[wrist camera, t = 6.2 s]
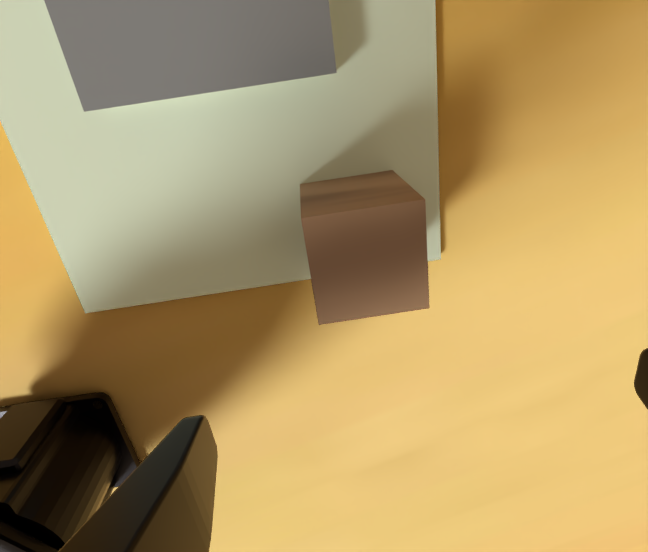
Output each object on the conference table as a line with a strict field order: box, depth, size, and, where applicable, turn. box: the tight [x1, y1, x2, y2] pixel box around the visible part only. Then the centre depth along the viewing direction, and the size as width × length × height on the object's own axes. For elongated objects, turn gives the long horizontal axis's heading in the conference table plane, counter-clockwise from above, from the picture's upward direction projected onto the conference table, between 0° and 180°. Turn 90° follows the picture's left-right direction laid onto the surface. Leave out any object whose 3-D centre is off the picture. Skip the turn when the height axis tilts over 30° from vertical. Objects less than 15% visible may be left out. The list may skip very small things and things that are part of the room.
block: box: [300, 170, 429, 325], centre depth 16 cm, size 4×4×5 cm
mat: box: [0, 0, 441, 313], centre depth 15 cm, size 22×17×1 cm
